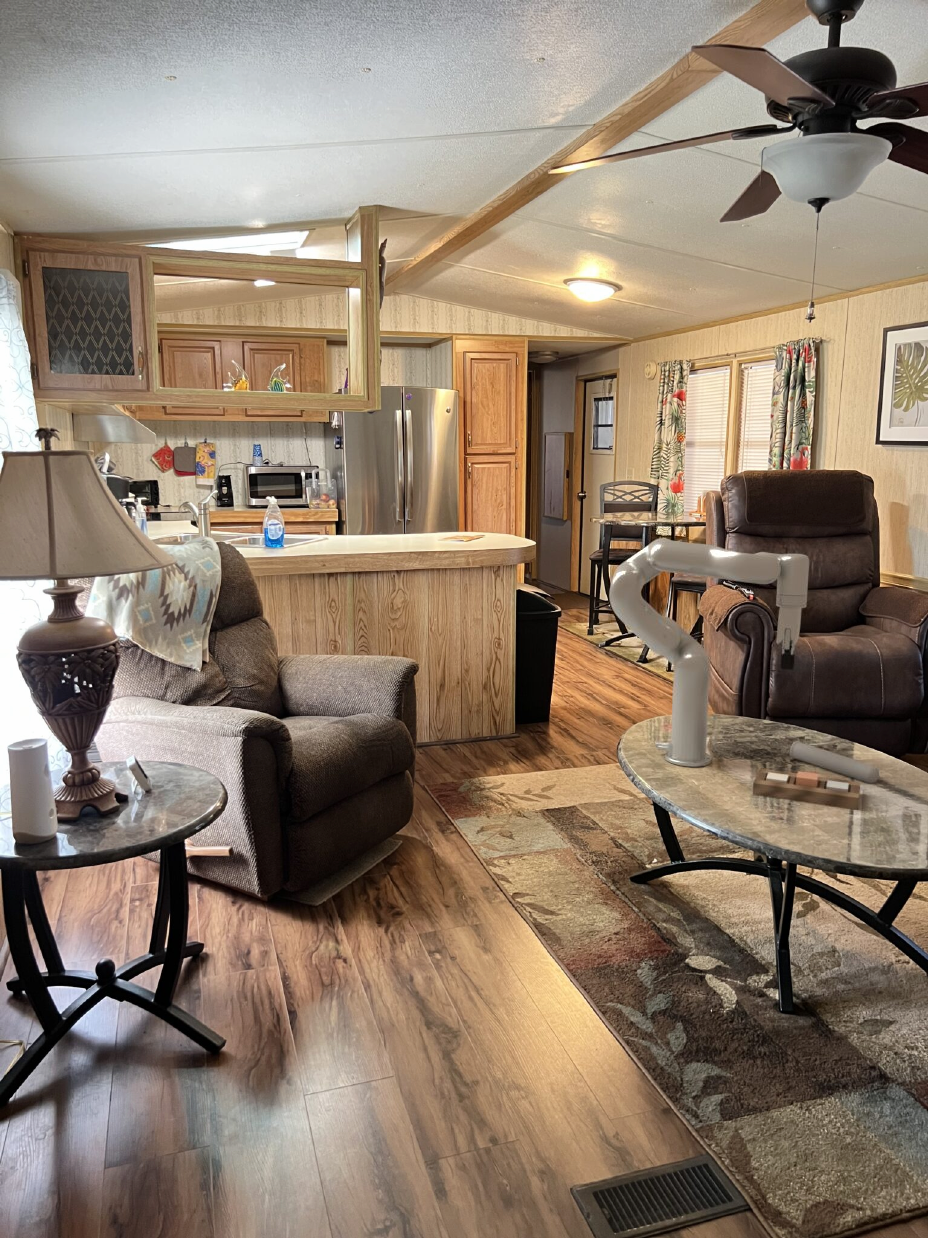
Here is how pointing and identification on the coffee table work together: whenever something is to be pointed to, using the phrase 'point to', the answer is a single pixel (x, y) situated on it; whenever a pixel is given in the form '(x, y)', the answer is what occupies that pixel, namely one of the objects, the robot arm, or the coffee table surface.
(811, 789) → the wooden tray
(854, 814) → the coffee table surface
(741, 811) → the coffee table surface
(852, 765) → the tube
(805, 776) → the key mid
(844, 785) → the key right
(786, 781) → the key left
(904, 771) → the coffee table surface
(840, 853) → the coffee table surface
